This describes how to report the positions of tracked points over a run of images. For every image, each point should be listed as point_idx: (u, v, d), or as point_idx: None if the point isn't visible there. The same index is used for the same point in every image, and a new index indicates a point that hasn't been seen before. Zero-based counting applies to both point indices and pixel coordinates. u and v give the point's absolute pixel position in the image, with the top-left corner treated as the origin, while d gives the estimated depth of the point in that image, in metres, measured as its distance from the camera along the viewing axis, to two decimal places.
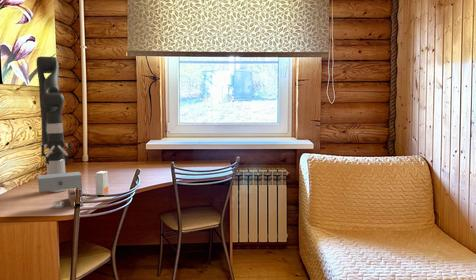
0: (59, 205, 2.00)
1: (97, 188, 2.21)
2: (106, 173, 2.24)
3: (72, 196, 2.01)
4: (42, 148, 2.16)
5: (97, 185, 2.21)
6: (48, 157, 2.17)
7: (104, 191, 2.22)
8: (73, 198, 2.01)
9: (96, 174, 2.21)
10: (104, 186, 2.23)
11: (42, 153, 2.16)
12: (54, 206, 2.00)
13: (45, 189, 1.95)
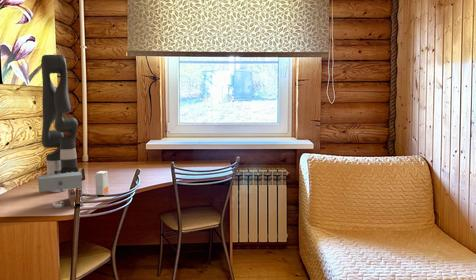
0: (59, 205, 2.00)
1: (97, 188, 2.21)
2: (106, 173, 2.24)
3: (72, 196, 2.01)
4: None
5: (97, 185, 2.21)
6: None
7: (104, 191, 2.22)
8: (73, 198, 2.01)
9: (96, 174, 2.21)
10: (104, 186, 2.23)
11: None
12: (54, 206, 2.00)
13: (45, 189, 1.95)
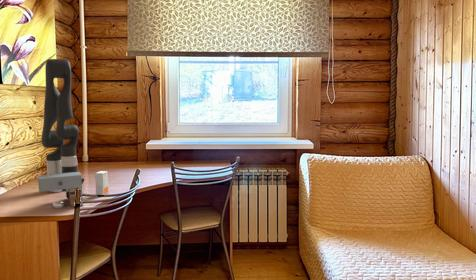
0: (60, 205, 2.00)
1: (97, 188, 2.21)
2: (106, 173, 2.24)
3: (72, 196, 2.01)
4: None
5: (97, 185, 2.21)
6: None
7: (104, 191, 2.22)
8: (73, 198, 2.01)
9: (96, 174, 2.21)
10: (104, 186, 2.23)
11: None
12: (55, 206, 2.00)
13: (45, 189, 1.95)
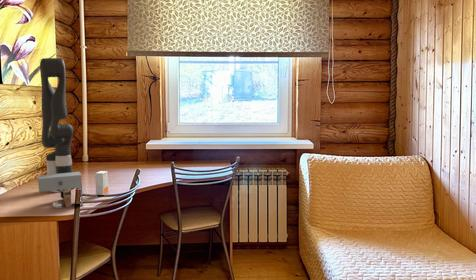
0: (61, 205, 2.00)
1: (97, 188, 2.21)
2: (106, 173, 2.24)
3: (67, 196, 2.00)
4: None
5: (97, 185, 2.21)
6: None
7: (104, 191, 2.22)
8: (68, 198, 2.00)
9: (96, 174, 2.21)
10: (104, 186, 2.23)
11: None
12: (55, 206, 2.00)
13: (45, 189, 1.95)
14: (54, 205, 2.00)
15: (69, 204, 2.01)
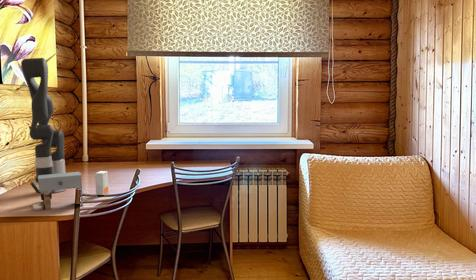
0: (40, 207, 1.97)
1: (97, 188, 2.21)
2: (106, 173, 2.24)
3: (46, 198, 1.96)
4: (33, 186, 2.05)
5: (97, 185, 2.21)
6: (43, 194, 2.08)
7: (104, 191, 2.22)
8: (47, 201, 1.96)
9: (96, 174, 2.21)
10: (104, 186, 2.23)
11: (37, 190, 2.06)
12: (35, 208, 1.96)
13: (45, 189, 1.95)
14: (34, 207, 1.96)
15: (49, 206, 1.97)
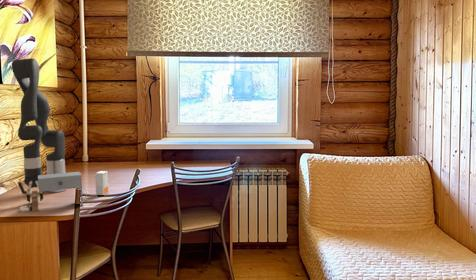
0: (28, 209, 1.94)
1: (97, 188, 2.21)
2: (106, 173, 2.24)
3: (33, 200, 1.94)
4: (20, 186, 2.03)
5: (97, 185, 2.21)
6: (29, 195, 2.05)
7: (104, 191, 2.22)
8: (34, 202, 1.94)
9: (96, 174, 2.21)
10: (104, 186, 2.23)
11: (23, 191, 2.04)
12: (22, 210, 1.94)
13: (45, 189, 1.95)
14: (21, 209, 1.94)
15: (36, 208, 1.95)
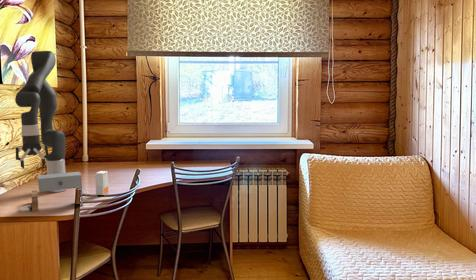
0: (28, 209, 1.94)
1: (97, 188, 2.21)
2: (106, 173, 2.24)
3: (33, 200, 1.94)
4: (16, 151, 2.01)
5: (97, 185, 2.21)
6: (23, 161, 2.03)
7: (104, 191, 2.22)
8: (34, 202, 1.94)
9: (96, 174, 2.21)
10: (104, 186, 2.23)
11: (16, 157, 2.01)
12: (22, 210, 1.94)
13: (45, 189, 1.95)
14: (21, 209, 1.94)
15: (36, 208, 1.95)
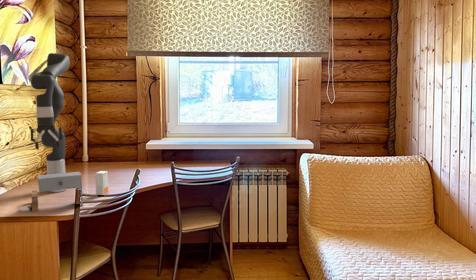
0: (28, 209, 1.94)
1: (97, 188, 2.21)
2: (106, 173, 2.24)
3: (33, 200, 1.94)
4: (31, 133, 2.05)
5: (97, 185, 2.21)
6: None
7: (104, 191, 2.22)
8: (34, 202, 1.94)
9: (96, 174, 2.21)
10: (104, 186, 2.23)
11: (31, 138, 2.05)
12: (22, 210, 1.94)
13: (45, 189, 1.95)
14: (21, 209, 1.94)
15: (36, 208, 1.95)
